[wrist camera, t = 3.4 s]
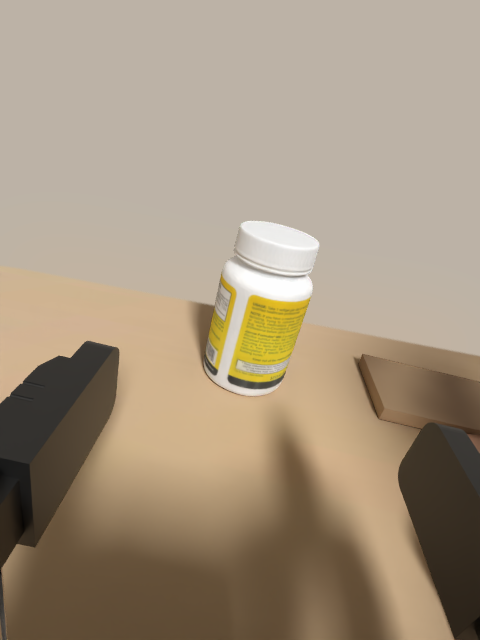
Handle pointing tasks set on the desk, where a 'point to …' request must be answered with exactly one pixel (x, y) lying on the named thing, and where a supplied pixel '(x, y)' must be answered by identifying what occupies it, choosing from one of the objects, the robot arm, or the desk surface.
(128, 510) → the desk surface
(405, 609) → the desk surface
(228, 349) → the supplement bottle
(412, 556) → the desk surface
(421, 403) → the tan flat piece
